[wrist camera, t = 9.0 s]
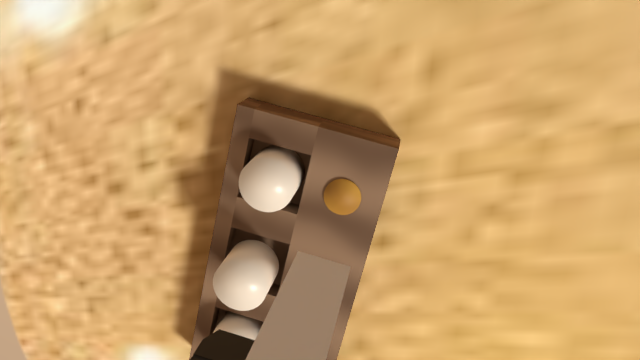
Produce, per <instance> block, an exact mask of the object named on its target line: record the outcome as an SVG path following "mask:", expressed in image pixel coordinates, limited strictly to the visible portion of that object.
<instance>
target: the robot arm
mask: <svg viewBox="0 0 640 360" xmlns="http://www.w3.org/2000/svg"><path fill="white" fill-rule="evenodd" d="M350 268H351V267H350V266H347V265H344V264H340V263H337V262H333V261H330V260H327V259H323V258H320V257H317V256H313V255H310V254H306V253H303V252H300V251H298V252H297V255H296V257H295V259H294V261H293V263H292V265H291V267H290V269H289V271H288V273H287V275H286V277H285V279H284V281H283V283H282V285H281V287H280V290H279V292H278V294H277V296H276V298H275V300H274V302H273V304H272V306H271V308H270V310H269V312H268V314H267V316H266V318H265V320H264V323H263V325H262V327H261V329H260V331H259V333H258V335H257V337H256V339H255V340H252V339H249V338H246V337H243V336H240V335H236V334H233V333H230V332H227V331H223V330H220V329H219V330H217V331H216V332H214V333H212V334H211V335H209V336H207V337H206V338H204V339H203V340H202V341H201V343H200V344H199V346H198V348H197V349H196V351H195V352H194V354H193V357H191V359H190V360H326V358H327V354H328V350H329V347H330V343H331V339H332V335H333V332H334V328H335V324H336V320H337V317H338V313H339V309H340V306H341V302H342V298H343V294H344V291H345V287H346V283H347V279H348V276H349V272H350Z"/></svg>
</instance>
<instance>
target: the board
mask: <svg viewBox="0 0 640 360" xmlns="http://www.w3.org/2000/svg"><path fill="white" fill-rule="evenodd" d="M271 145H276V146H279V147H283V148H286V149H290V150H293V151H295V152H296V153H297V154H298V156H299V157H300V158H301V160H302V163H303V166H304V178H303V181H302V183H301V185H300V186H299V188H298V190H297V191H296V193H295V194H294V196H293V197H292V199H291V201H290V202H289V203H288V204H287V205H286V206H285V207H284V208H282V209H281V210H278V211H275V212H262V211H259V210H256V209H254V208H253V207H251V206H250V205H249V204H248V203H247V202H246V201H245V200H244V198H243V197H242V195H241V193H240V189H239V176H240V173H241V171H242V169H243V168H244V167H245V166H246V165H247V164H248V163H249V162H250V161H251V160H252V159H253V158H254V157H255V156H256V155H257V154H258V153H259V152H260V151H261V150H262V149H264V148H266V147H268V146H271ZM399 145H400V139H397V138H393V137H390V136H386V135H382V134H379V133H375V132H371V131H368V130H364V129H361V128H357V127H353V126H350V125H346V124H342V123H339V122H335V121H331V120H328V119H324V118H320V117H317V116H313V115H310V114H306V113H302V112H299V111H295V110H291V109H288V108H284V107H280V106H277V105H273V104H269V103H266V102H262V101H259V100H255V99H251V98H247V99H246V100H244V101H242V102H241V103H239V104H238V105H237V110H236V115H235V121H234V126H233V131H232V136H231V142H230V147H229V152H228V158H227V163H226V168H225V173H224V179H223V184H222V189H221V195H220V200H219V205H218V210H217V216H216V221H215V226H214V231H213V237H212V242H211V247H210V253H209V258H208V263H207V268H206V274H205V279H204V284H203V290H202V295H201V300H200V305H199V311H198V316H197V321H196V327H195V332H194V337H193V342H192V348H191V353H190V358H189V360H190V359H191V357H193V354H194V352H195V351H196V349H197V348H198V346H199V344H200V343H201V341H202V340H203V339H204V338H206V337H207V336H209V335H211V334H212V333H213V332H214V330H215V328H216V327H217V325H218V323H219V322H220V320H221V319H222V317H223V316H224V314H225V313H226V312H228V311H230V312H233V313H237V314H240V315H243V316H246V317H250V318H253V319H256V320H259V321H263V322H264V320H265V318H266V316H267V314H268V312H269V310H270V308H271V306H272V304H273V302H274V300H275V298H276V296H277V294H278V292H279V290H280V287H281V285H282V283H283V281H284V279H285V277H286V275H287V273H288V271H289V269H290V267H291V265H292V263H293V261H294V259H295V257H296V255H297V252H298V251H300V252H303V253H306V254H310V255H313V256H317V257H320V258H323V259H327V260H330V261H333V262H337V263H340V264H344V265H347V266H350V267H351V268H350V272H349V276H348V279H347V283H346V287H345V291H344V294H343V298H342V302H341V306H340V309H339V313H338V317H337V320H336V324H335V328H334V332H333V335H332V339H331V343H330V347H329V350H328V354H327V358H326V360H337V356H338V353H339V349H340V346H341V343H342V339H343V336H344V333H345V329H346V326H347V322H348V319H349V316H350V312H351V309H352V305H353V302H354V299H355V295H356V292H357V289H358V285H359V282H360V278H361V275H362V272H363V268H364V265H365V261H366V258H367V255H368V251H369V248H370V245H371V241H372V238H373V234H374V231H375V228H376V224H377V221H378V217H379V214H380V211H381V207H382V204H383V201H384V197H385V194H386V190H387V187H388V184H389V180H390V177H391V174H392V170H393V167H394V163H395V160H396V157H397V153H398V150H399ZM245 240H257V241H260V242H263V243H265V244H266V245H268V246H269V247H270V248H271V249H272V250H273V251H274V252H275V254H276V256H277V258H278V262H279V270H278V274H277V276H276V278H275V280H274V282H273V284H272V286H271V287H270V289H269V291H268V293H267V295H266V297H265V299H264V301H263V302H262V303H261V304H260V305H259V306H258V307H256V308H255V309H252V310H248V311H239V310H235V309H232V308H230V307H228V306H226V305H225V304H224V303H222V302H221V301H220V299H219V298H218V297H217V295H216V293H215V291H214V288H213V277H214V274H215V272H216V270H217V269H218V268H219V266H220V265H221V263H222V262H223V261H224V259H225V258H226V257H227V255H228V254H229V253H230V251H231V250H232V249H233V247H234V246H235V245H237V244H238V243H240V242H242V241H245Z"/></svg>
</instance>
